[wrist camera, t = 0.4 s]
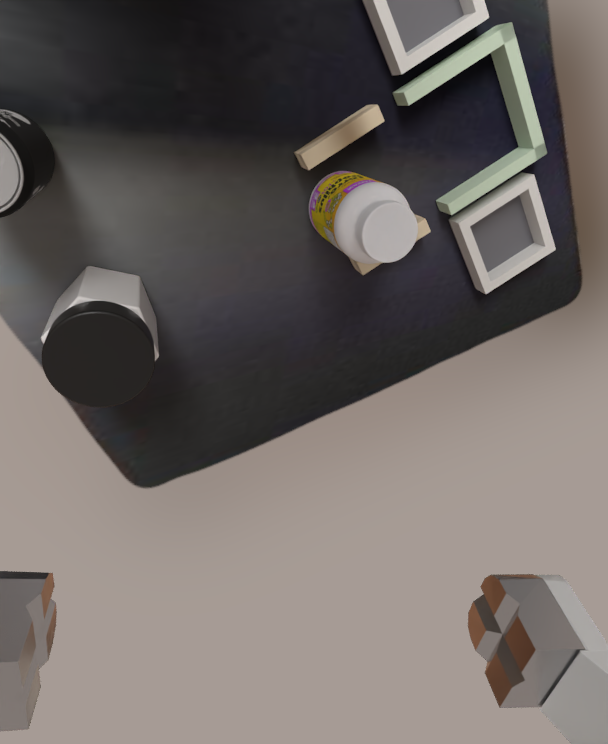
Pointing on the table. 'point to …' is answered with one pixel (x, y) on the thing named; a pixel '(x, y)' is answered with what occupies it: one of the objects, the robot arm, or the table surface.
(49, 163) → the beverage can
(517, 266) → the tray
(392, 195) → the supplement bottle
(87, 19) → the table surface
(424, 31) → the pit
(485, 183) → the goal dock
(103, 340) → the jar
